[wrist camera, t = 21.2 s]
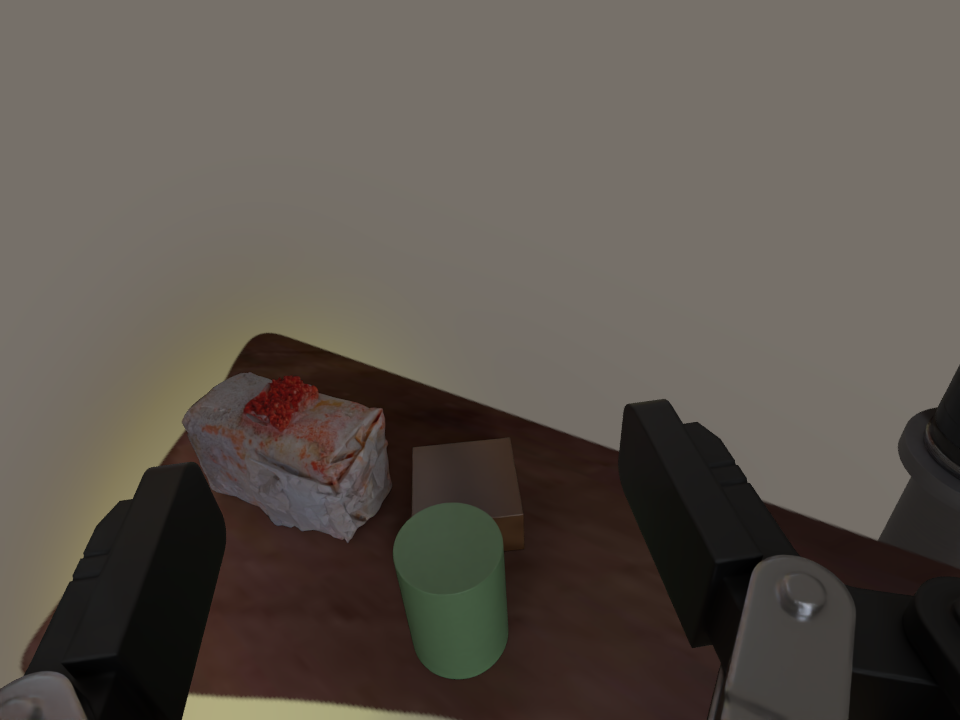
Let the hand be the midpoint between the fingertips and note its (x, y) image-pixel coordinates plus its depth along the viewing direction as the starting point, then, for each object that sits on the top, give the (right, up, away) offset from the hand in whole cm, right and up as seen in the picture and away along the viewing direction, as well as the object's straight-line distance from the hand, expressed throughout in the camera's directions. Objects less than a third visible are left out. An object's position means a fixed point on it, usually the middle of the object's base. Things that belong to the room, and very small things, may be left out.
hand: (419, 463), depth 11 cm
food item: (-12, -8, +33) cm, 36 cm away
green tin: (0, -14, +24) cm, 27 cm away
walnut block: (0, -9, +31) cm, 32 cm away
